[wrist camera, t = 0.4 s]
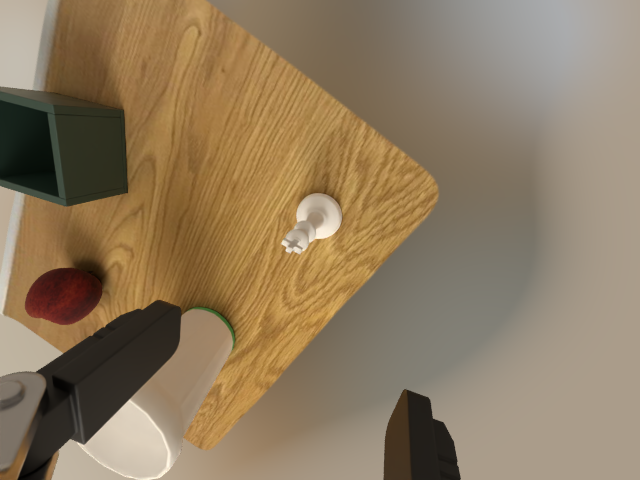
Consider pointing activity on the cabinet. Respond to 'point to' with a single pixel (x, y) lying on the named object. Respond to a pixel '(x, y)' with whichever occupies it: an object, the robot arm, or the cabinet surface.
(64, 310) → the apple
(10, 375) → the robot arm
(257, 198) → the cabinet surface
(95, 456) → the cup
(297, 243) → the chess piece
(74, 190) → the bin
